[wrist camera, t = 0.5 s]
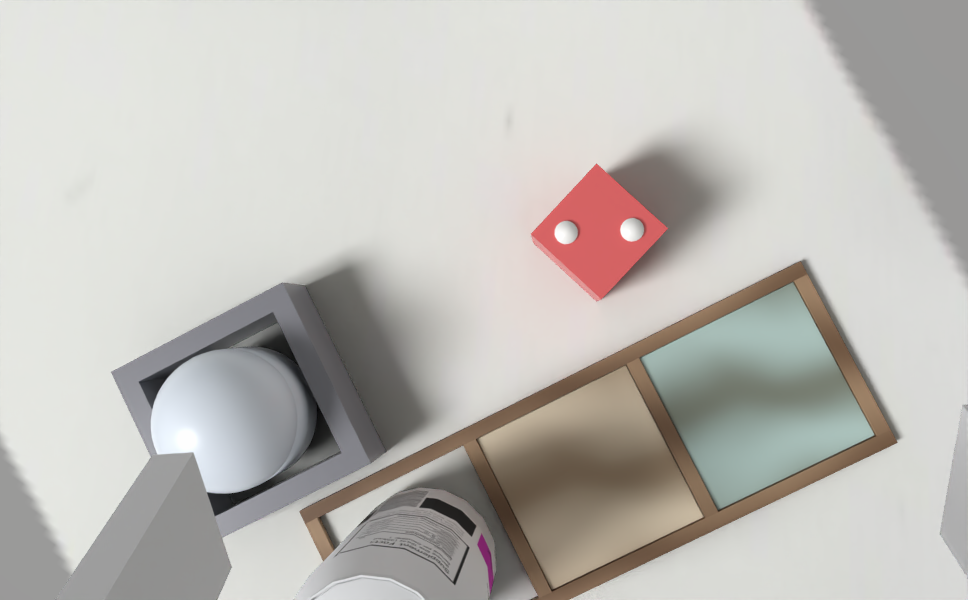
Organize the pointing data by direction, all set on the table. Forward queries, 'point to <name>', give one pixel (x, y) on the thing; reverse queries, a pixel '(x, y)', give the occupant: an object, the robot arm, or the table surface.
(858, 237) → the table surface
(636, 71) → the table surface
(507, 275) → the table surface
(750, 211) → the table surface
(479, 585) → the supplement can
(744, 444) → the frame
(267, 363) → the dome button
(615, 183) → the red die
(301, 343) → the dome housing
